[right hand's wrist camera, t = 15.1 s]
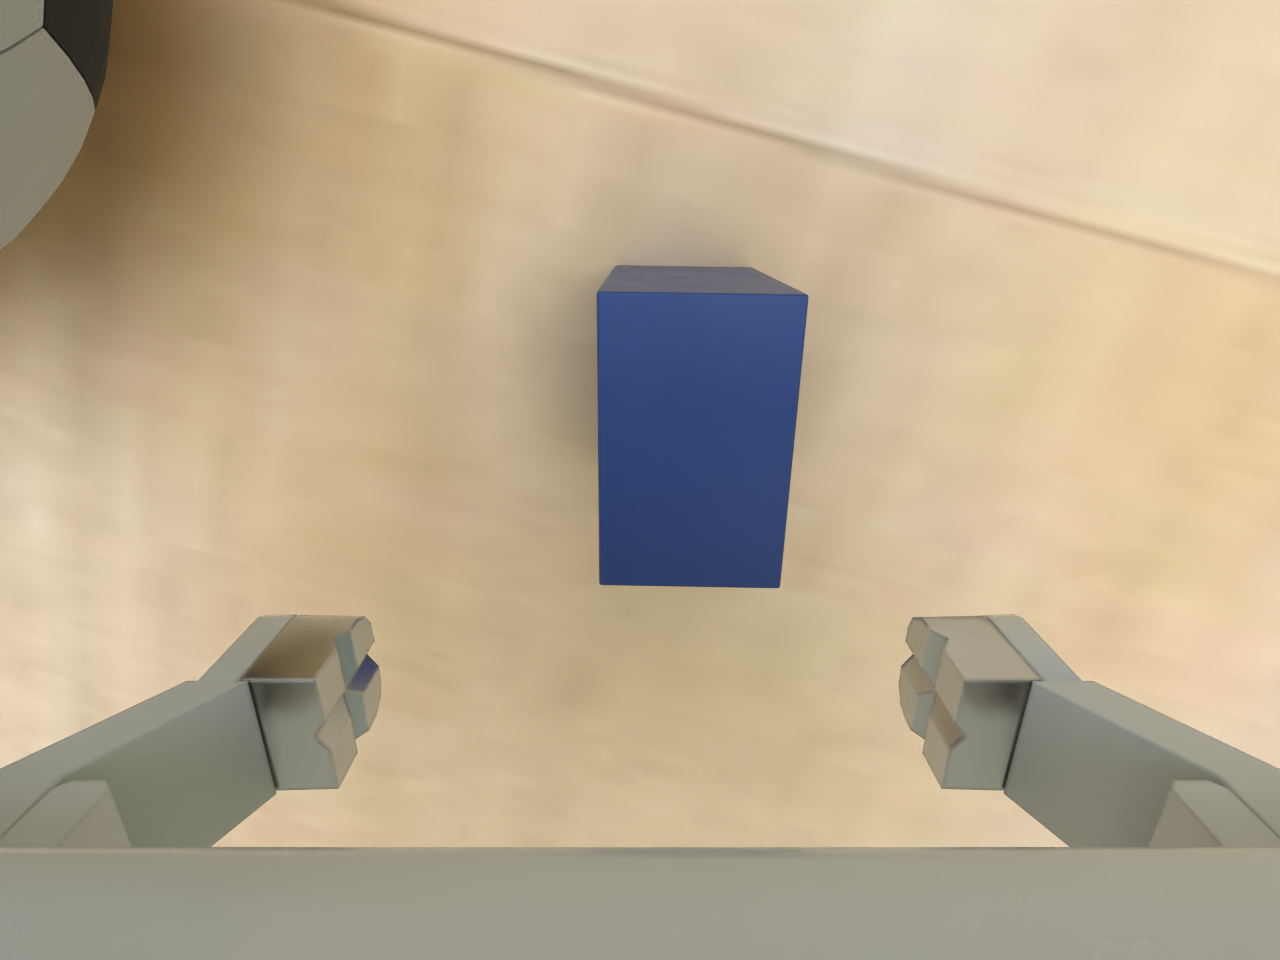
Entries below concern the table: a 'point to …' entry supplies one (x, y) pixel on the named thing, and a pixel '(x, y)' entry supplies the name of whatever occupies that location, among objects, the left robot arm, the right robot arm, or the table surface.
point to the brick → (696, 424)
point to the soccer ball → (46, 97)
